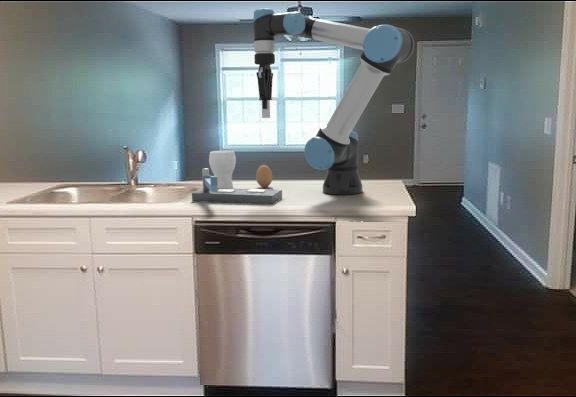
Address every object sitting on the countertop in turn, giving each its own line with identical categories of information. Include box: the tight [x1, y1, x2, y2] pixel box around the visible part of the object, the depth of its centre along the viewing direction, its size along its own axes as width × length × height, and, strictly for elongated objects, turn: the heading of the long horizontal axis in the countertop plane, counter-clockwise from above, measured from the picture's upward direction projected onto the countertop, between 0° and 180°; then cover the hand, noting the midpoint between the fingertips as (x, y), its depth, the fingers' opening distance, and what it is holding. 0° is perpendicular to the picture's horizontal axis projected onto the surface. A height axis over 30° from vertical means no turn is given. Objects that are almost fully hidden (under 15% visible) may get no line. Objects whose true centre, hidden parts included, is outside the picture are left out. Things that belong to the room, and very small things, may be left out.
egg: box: [255, 164, 273, 188], centre depth 228 cm, size 7×7×9 cm
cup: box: [208, 150, 237, 188], centre depth 225 cm, size 11×11×15 cm
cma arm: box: [202, 174, 218, 192], centre depth 193 cm, size 20×3×6 cm, turn 16°
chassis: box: [191, 167, 283, 205], centre depth 202 cm, size 30×12×11 cm, turn 74°
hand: (266, 117), depth 212 cm, fingers closed
